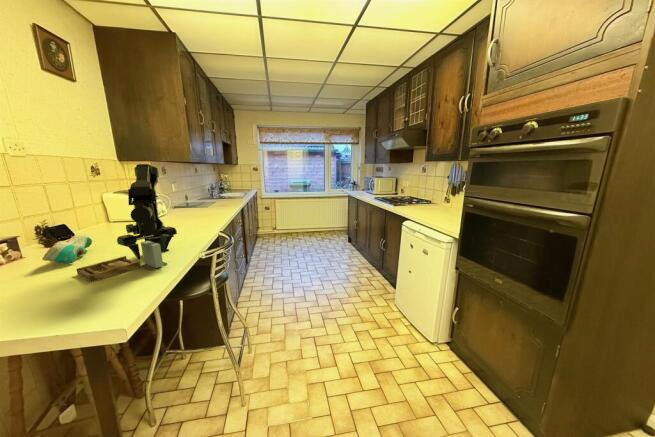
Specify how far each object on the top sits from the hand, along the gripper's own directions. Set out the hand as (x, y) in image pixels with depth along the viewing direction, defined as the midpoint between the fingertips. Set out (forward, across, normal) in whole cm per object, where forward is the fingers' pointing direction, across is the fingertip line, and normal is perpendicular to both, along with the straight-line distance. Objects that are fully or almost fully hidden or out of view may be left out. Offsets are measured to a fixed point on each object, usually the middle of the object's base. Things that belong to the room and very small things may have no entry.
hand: (152, 256), depth 99 cm
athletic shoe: (+5, +13, -43) cm, 45 cm away
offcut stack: (+4, +8, -10) cm, 13 cm away
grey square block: (+4, 0, 0) cm, 4 cm away
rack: (+4, +11, -10) cm, 15 cm away
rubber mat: (+4, 0, 0) cm, 4 cm away
